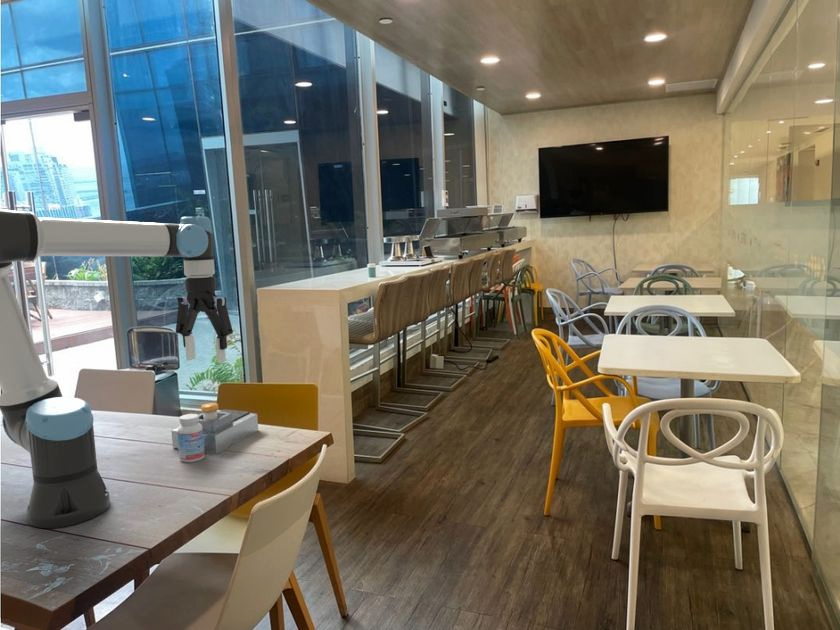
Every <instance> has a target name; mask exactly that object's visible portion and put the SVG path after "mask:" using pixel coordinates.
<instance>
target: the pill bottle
mask: <svg viewBox="0 0 840 630" xmlns="http://www.w3.org/2000/svg"><path fill="white" fill-rule="evenodd" d="M198 422H199V414H197V413H187V414H182V415H181V416H179V423H180V424H179V426H178V427H177V428H178V430H177V432H178V447H179V449H178V458H179V461H181V462H183V463H194V462H198V461H201V460H202V459H204V458H205V452H204V442H203V428H202V425H201V424H200V423H198Z"/></svg>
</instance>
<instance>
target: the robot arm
mask: <svg viewBox="0 0 840 630" xmlns="http://www.w3.org/2000/svg"><path fill="white" fill-rule="evenodd" d="M213 235H214V233H213V227H212V222H211V218H209V217H208V216H182V217H180V221H179V223H161V222H146V221H145V222H144V221H142V222H140V221H121V220H103V219H102V220H100V219H98V220H97V219H79V218H77V219H76V218H59V217H56V218H55V217H38V216H37V215H36V213H34V212H32V211H20V210H11V209H4V208H0V389H1V394H0V412H1V414H2V416H1V417H2V420H1V421H2V427H3V428H2V429H4V430H3V431H4V432H5V434H6V436H7V437H8V438H9V439H10V441H11V442H13V443H14V444H16V445H18V446H20V447H21V448H22V449H24V450H26V451H27V452H28V453H29V454H30V463H31V464H30V465H31V471H32V479H33V485H32V490H31V494H30V499H29V504H28V505H27V508H26V515H27V516H26V517H27V523H28V524H29V525H30V526H32V527H35V528H40V529H57V528H65V527H69V526H73V525H77V524H80V523H83V522H87V521H89V520H92V519H93V518H96V517H97V516H99V515H102V513H104V512H105V511H107V510H108V508H109V507H110V504H111V498H110V497H111V495H110V491H109V489H108V488H107V487H106V483H105V482H104V480H103V477H102V476H101V474H100V472H99V470H98V469H99V468H98V464H97V463H98V461H97V450H96V441H95V440H96V439H95V430H94V414H93V413H92V409H91V405H90V403H88V402H87V401H86V400H84V399H82V398H79V397H70V396H63V394H62V391H61V388H60V387H59V383H58V382H57V381H56V380H54V379H51V378H50V377H49V378H48V377H47V374H46V371H45V369H44V366H43V363H42V361H41V359H40V356H39V353H38V351H37V348H36V345H35V342H34V340H33V337H32V335H31V332H30V329H29V328H28V324H27V322H26V319H25V317H24V314H23V311H22V309H21V305H20V303H19V301H18V298H17V296H16V293H15V290H14V289H13V284H12V282H11V280H10V278H9V272H10V271H11V269H12V268H13V266H14V264H13V262H34V261H36V260H37V259H38V258H39V257H167V258H168V257H172V258H173V257H174V258H175V257H176V258H177V257H183V258H182V259H183V273H184V276H186V277H185V278H184V284H185V291H186V292H187V295H186V296H184V295H183V296H179V297H177V305H178V307H177V316H176V326H175V333H176V334H180V335H181V336H182V341H183V342H182V343H183V347H184V348H185V357H186V358H185V359H186V361H189V362H190V361H193V360H196V358H197V357H196V346H195V335H194V334H193V332H192V331H193V329H194V326H195V324H196V320H197V318H198V316H199V315H198V314H200V312H202V313H204V314H205V315H206V316H207V317H208V319H209V321H210V323H211V325H212V327H213V329H214V331H215V333H216V335H217V336H216V337H215V338H214V339H215V353H216V362H217V363H222V362H224V361H227V359H226V358H227V357H226V356H227V355H226V349H227V348H228V343H227V342H228V341H227V339H228V338H227V337H228V336H231V335H233V333H234V330H233V326H232V323H231V320H230V315H229V312H228V309H227V298H226V297H225V296H223V297H220V296H219V297H218V296H217V295H216V290H217V285H216V277H215V276H213V275H215V273H216V270H215V258H214V257H215V256H214V255H215V254H214V240H213V238H214V237H213Z"/></svg>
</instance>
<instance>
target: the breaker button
mask: <svg viewBox="0 0 840 630" xmlns="http://www.w3.org/2000/svg"><path fill="white" fill-rule="evenodd" d="M200 410H201V412H202V413H203V418H204V420H212V421H213V420H215V419H217V418H218V417H217V410H219V404H218V403H216V402H209V403H204V404H202V405H201V406H200Z"/></svg>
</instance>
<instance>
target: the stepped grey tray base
mask: <svg viewBox="0 0 840 630" xmlns="http://www.w3.org/2000/svg"><path fill="white" fill-rule="evenodd" d="M198 415H199V422H198V423H200V424H201V425H202V428H203V442H204V453H206V454H215V455H218V454H219V453H220V452H222V451H225V450H226V449H228V448H229V447H232V446H233V445H235V444H237V443H239V442H240V441H242V440H244V439H246V438H247V437H249V436H251V435H253V434H254V433H256V432H258V431H259V423H258V413H253V412H251V411H247V410H237V409H235V410H234V409H218V410H217V417H218V418H217V419H215V420H213V421H212V420H204V418H203V412H202V413H200V414H198ZM177 430H178V427H176V428H174V429H172V430H171V440H172V449H174V448H177V449H176V450H179V447H178V432H177Z"/></svg>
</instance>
